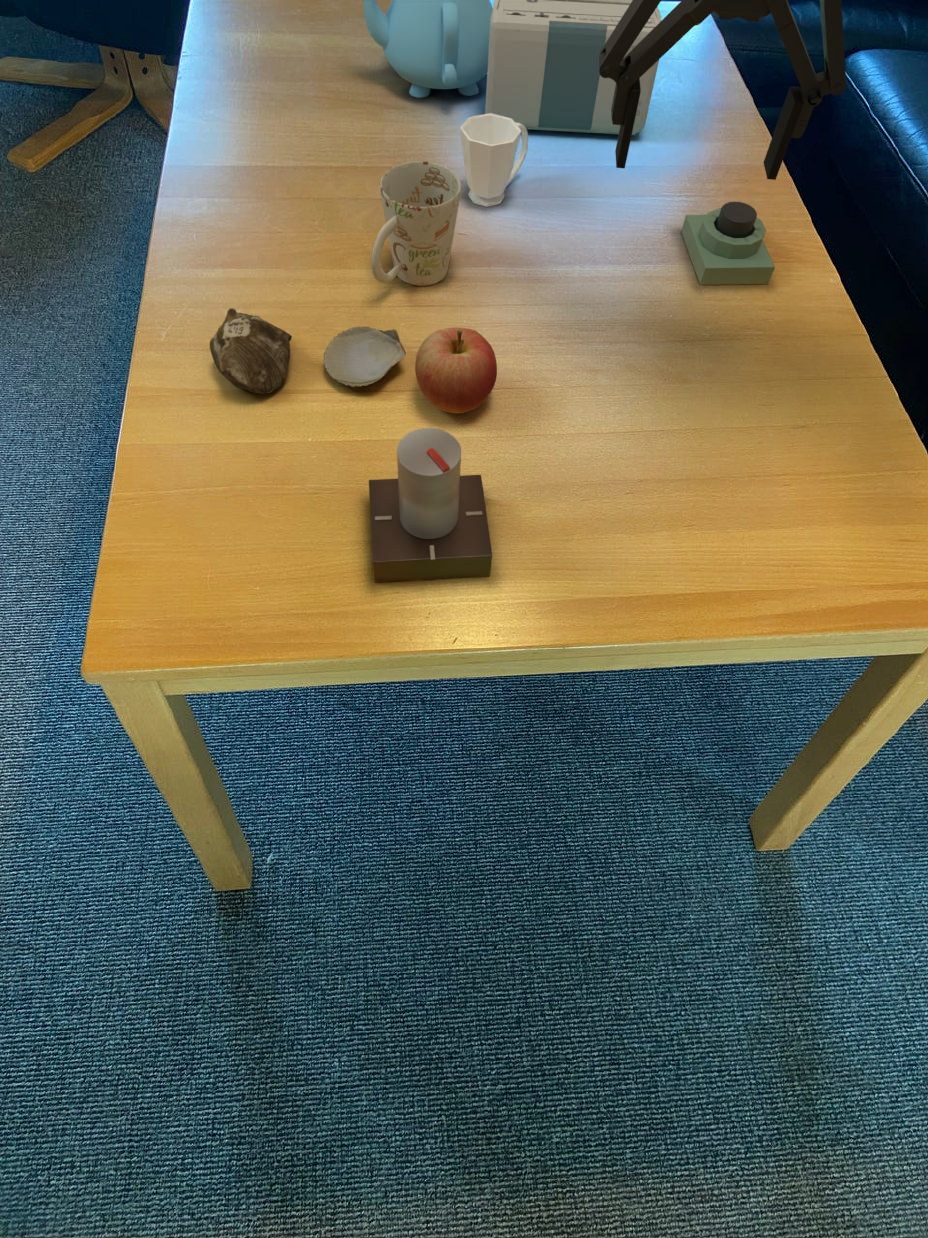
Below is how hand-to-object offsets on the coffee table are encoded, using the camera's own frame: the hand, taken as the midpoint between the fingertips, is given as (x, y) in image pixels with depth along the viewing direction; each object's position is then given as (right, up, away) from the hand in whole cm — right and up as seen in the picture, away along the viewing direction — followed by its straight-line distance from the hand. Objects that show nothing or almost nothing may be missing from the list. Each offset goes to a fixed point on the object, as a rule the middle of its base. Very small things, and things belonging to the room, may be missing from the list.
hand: (694, 165), depth 75 cm
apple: (-22, -19, +8) cm, 30 cm away
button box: (+9, +1, +22) cm, 24 cm away
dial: (-24, -32, -4) cm, 40 cm away
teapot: (-24, +35, +41) cm, 59 cm away
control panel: (-24, -34, -2) cm, 42 cm away
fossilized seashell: (-42, -16, +9) cm, 46 cm away
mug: (-27, -3, +18) cm, 32 cm away
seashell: (-31, -16, +10) cm, 36 cm away
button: (+10, +3, +19) cm, 21 cm away
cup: (-17, +11, +27) cm, 34 cm away
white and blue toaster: (-8, +25, +36) cm, 45 cm away
